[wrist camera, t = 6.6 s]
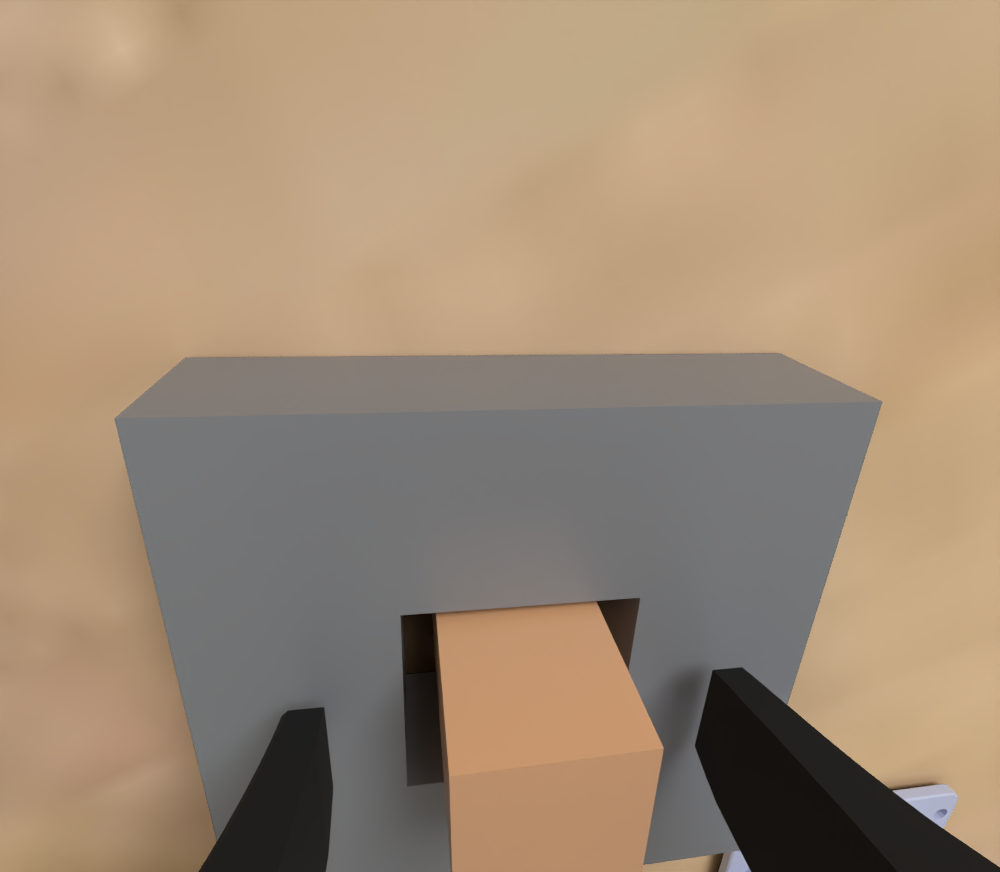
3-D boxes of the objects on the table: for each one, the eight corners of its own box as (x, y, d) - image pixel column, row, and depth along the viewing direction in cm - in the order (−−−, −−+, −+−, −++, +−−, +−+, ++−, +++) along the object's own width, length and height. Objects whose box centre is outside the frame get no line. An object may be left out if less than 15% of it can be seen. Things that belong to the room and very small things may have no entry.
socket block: (688, 745, 18) (741, 850, 15) (265, 795, 16) (237, 924, 13) (780, 353, 13) (882, 401, 10) (185, 357, 11) (114, 418, 8)
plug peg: (553, 623, 15) (641, 879, 9) (433, 635, 14) (453, 910, 9) (559, 521, 14) (663, 748, 8) (429, 530, 13) (449, 776, 8)
